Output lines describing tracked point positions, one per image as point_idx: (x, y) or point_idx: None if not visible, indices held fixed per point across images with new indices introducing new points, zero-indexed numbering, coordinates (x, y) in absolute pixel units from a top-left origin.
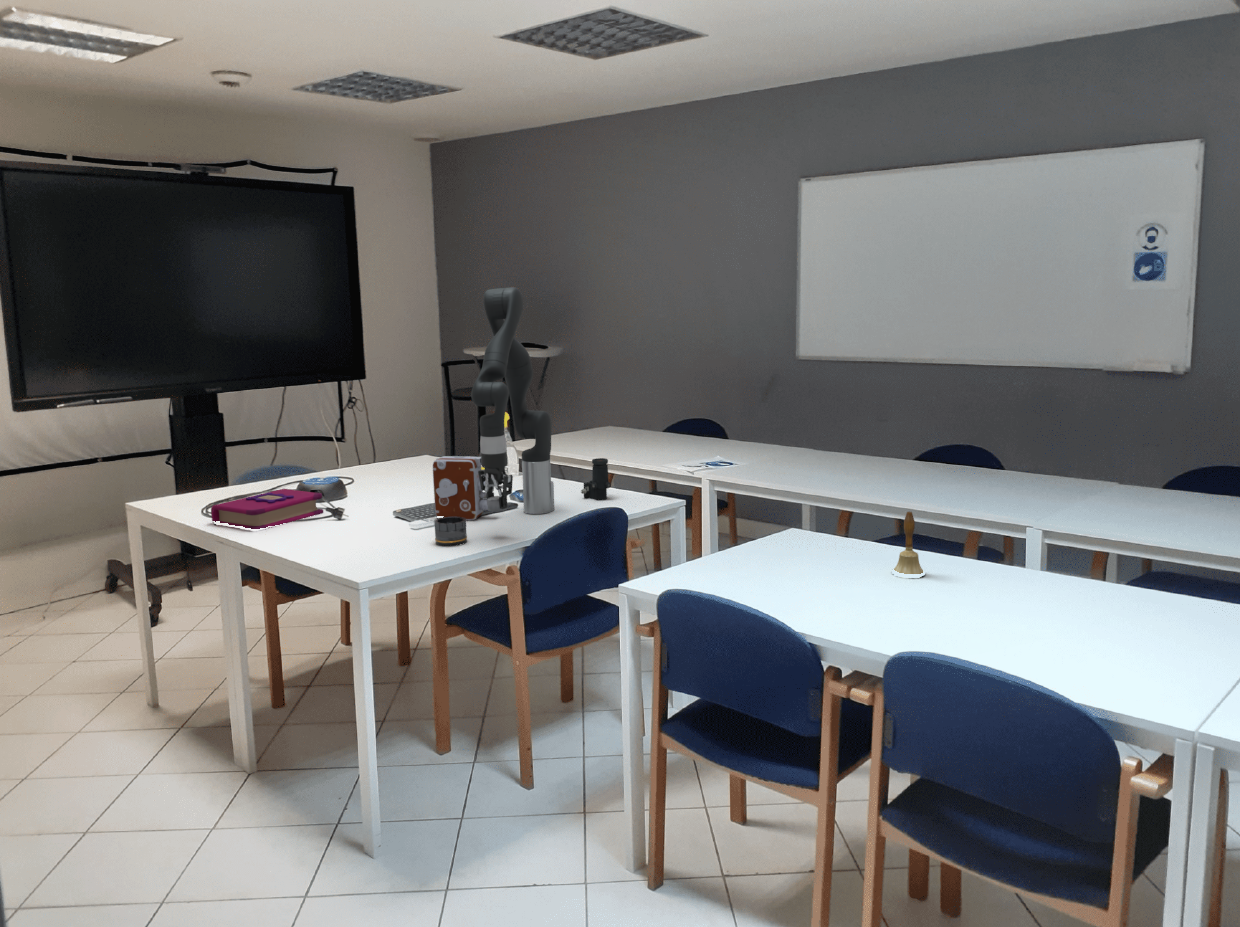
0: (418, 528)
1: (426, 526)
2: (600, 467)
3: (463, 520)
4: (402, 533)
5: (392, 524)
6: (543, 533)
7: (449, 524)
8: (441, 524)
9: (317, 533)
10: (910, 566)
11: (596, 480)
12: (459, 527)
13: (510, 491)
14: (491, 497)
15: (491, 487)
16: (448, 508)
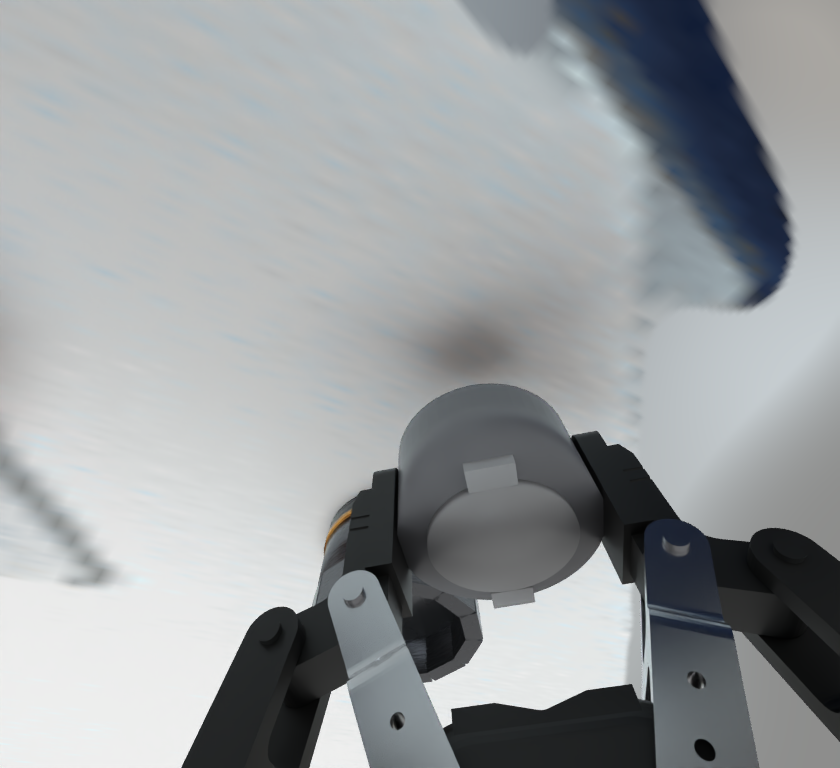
0: (84, 566)
1: (52, 535)
2: None
3: (444, 600)
4: (154, 621)
5: None
6: (577, 26)
7: (472, 655)
8: (444, 674)
9: (57, 757)
10: None
11: None
12: (476, 601)
13: (828, 576)
14: (462, 575)
15: (367, 639)
16: None
